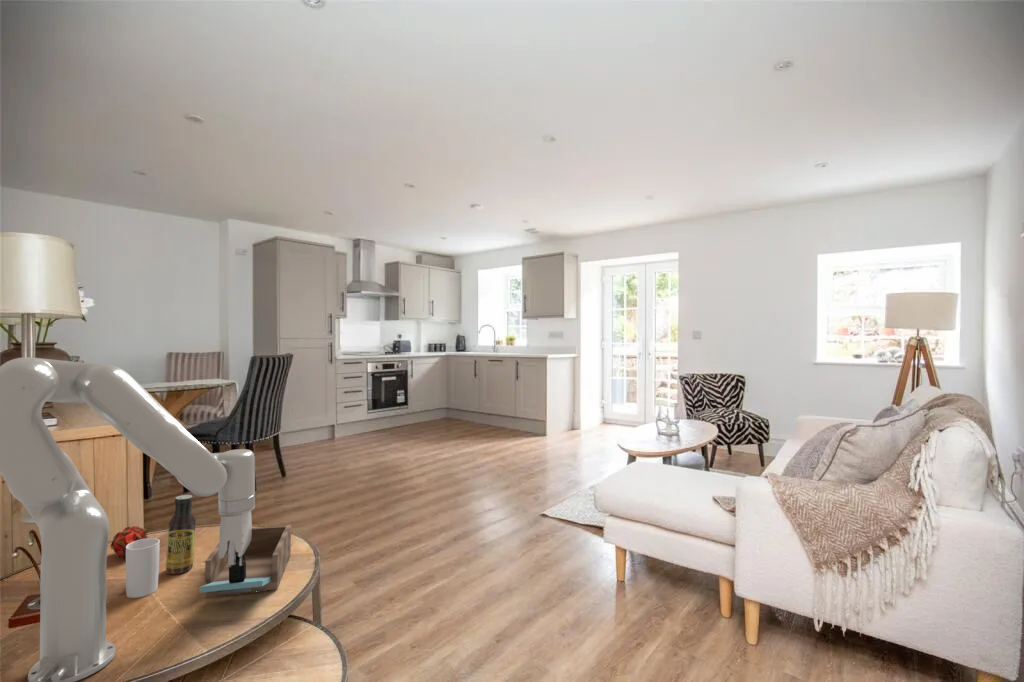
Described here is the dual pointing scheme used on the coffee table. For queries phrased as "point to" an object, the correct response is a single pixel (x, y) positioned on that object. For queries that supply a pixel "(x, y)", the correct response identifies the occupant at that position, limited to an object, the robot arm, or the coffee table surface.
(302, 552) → the coffee table surface
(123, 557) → the dragon fruit
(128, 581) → the white oval vase
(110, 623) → the coffee table surface
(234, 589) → the panel
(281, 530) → the box
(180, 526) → the sauce bottle
